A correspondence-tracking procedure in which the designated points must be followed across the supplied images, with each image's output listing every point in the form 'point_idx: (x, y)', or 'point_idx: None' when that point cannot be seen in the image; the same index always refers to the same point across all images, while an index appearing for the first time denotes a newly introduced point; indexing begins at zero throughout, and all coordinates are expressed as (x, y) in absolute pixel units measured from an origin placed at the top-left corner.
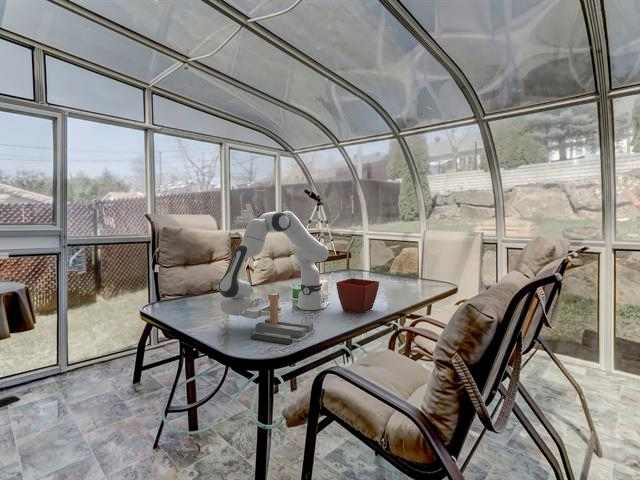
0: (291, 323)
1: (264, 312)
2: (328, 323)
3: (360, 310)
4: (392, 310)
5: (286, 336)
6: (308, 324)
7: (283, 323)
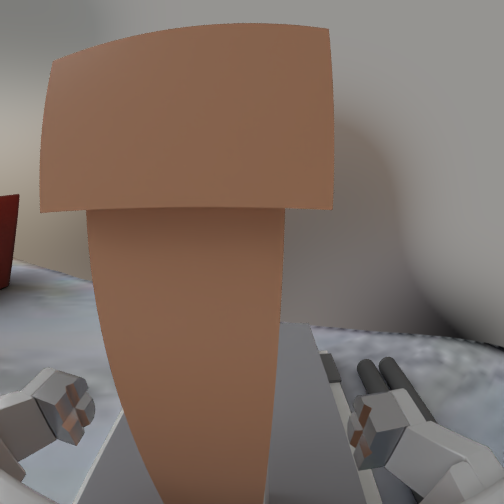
0: None
1: (446, 437)
2: (64, 330)
3: (7, 275)
4: (12, 263)
5: (336, 399)
6: None
7: None
